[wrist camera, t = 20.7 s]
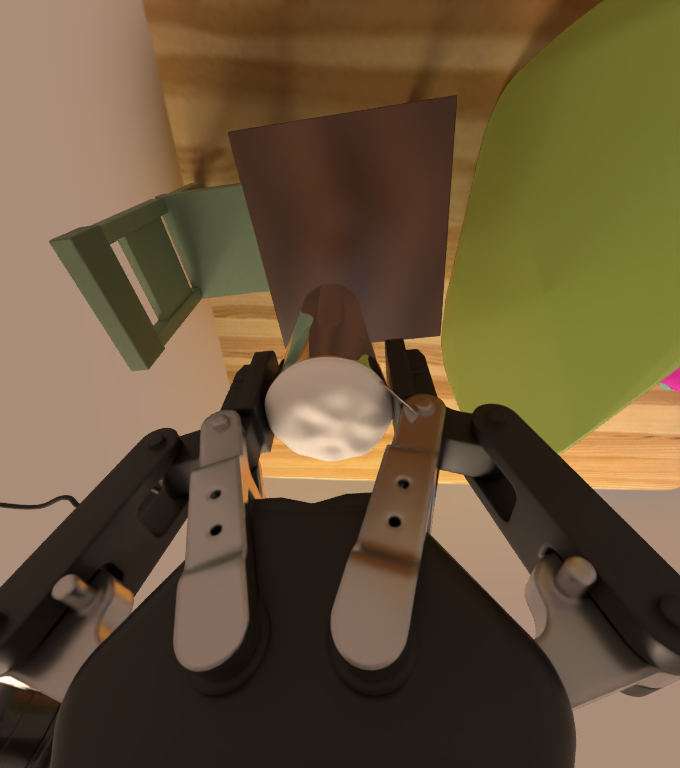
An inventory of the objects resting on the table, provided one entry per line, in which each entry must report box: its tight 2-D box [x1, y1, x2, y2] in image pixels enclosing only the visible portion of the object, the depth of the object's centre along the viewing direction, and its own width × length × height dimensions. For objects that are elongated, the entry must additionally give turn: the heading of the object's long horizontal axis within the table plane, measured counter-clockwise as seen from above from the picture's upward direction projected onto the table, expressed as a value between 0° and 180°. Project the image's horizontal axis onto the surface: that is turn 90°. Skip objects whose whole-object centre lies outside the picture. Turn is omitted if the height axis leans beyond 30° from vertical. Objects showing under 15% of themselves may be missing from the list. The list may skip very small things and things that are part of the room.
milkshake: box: [265, 284, 418, 462], centre depth 14 cm, size 5×5×10 cm
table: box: [228, 95, 457, 348], centre depth 26 cm, size 12×14×12 cm
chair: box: [49, 182, 270, 371], centre depth 25 cm, size 8×8×17 cm
